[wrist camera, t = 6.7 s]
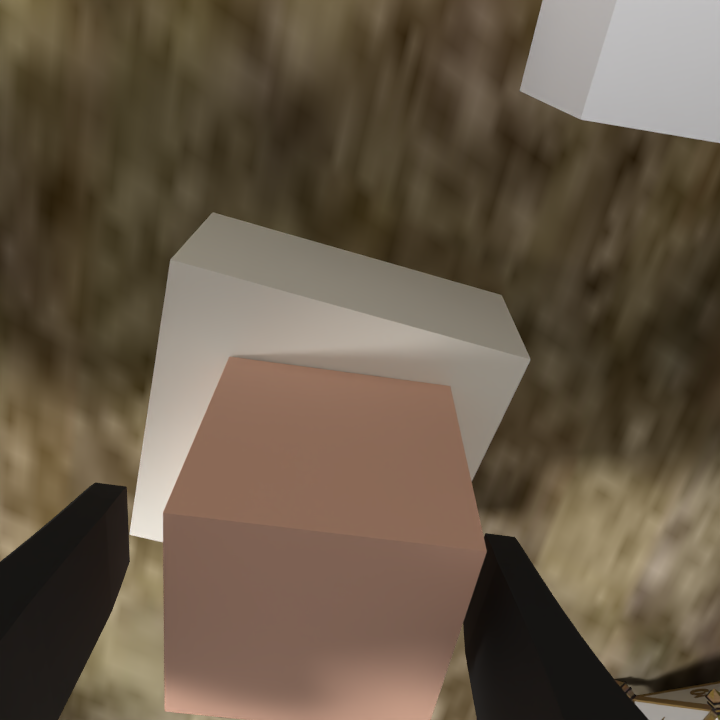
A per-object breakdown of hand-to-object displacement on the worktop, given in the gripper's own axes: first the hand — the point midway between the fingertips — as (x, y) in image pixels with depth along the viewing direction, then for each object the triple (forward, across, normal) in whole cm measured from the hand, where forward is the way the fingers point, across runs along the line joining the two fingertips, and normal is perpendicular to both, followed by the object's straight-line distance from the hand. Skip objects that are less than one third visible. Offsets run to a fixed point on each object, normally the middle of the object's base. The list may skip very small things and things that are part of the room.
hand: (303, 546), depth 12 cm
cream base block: (+7, 0, 0) cm, 7 cm away
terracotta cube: (+3, 0, 0) cm, 3 cm away
